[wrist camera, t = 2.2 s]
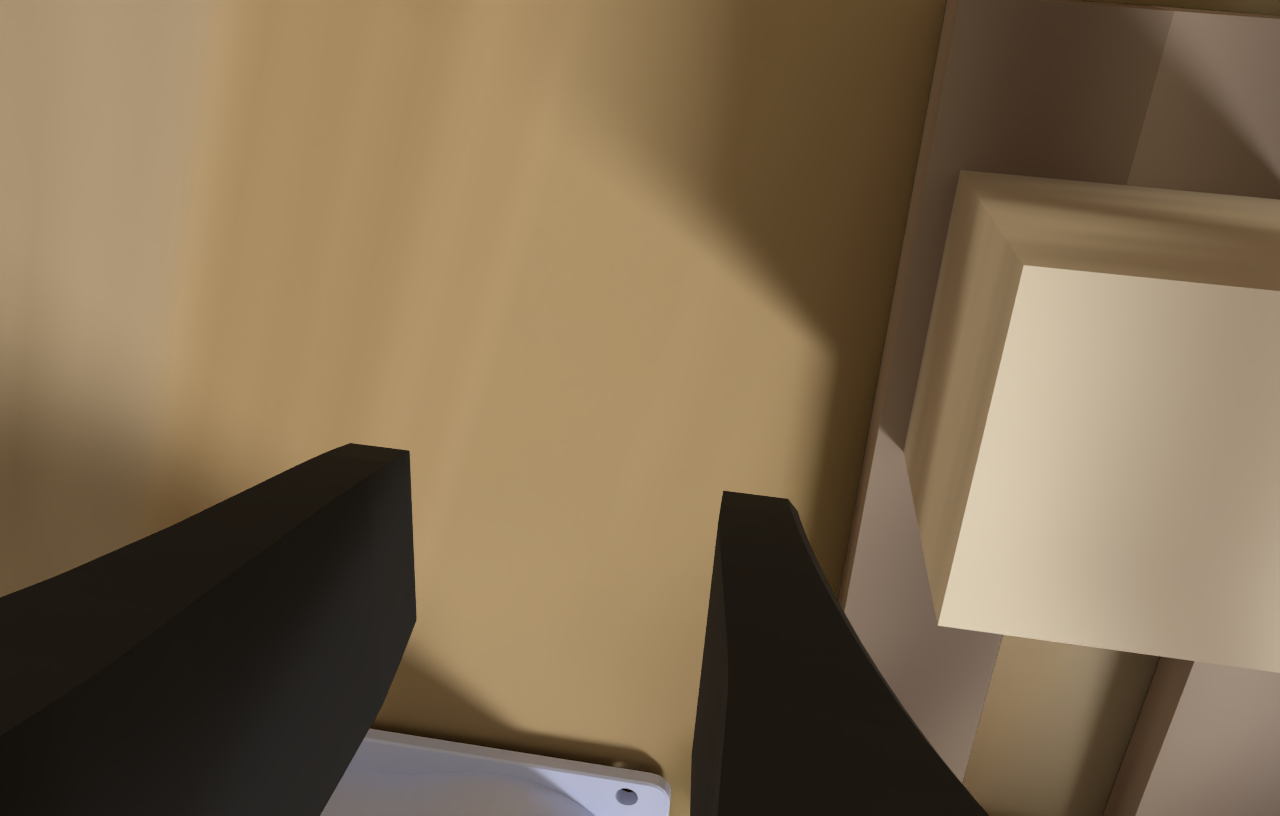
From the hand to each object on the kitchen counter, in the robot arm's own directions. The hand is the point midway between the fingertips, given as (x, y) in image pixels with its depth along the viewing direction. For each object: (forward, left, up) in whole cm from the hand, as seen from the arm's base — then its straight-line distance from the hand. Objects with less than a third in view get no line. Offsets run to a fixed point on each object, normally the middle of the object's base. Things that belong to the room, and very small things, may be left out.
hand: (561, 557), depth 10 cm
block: (+7, 0, -8) cm, 11 cm away
